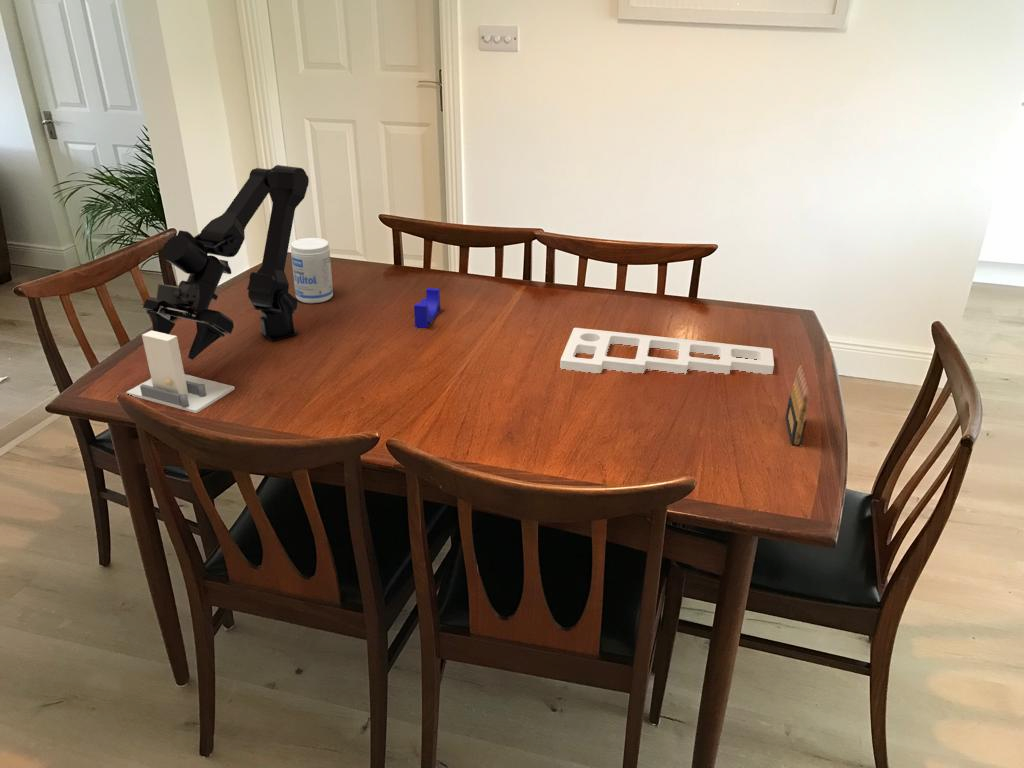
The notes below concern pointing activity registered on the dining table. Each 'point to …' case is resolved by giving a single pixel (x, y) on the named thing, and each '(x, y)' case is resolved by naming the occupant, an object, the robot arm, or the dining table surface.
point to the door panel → (165, 362)
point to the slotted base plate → (197, 399)
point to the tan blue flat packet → (797, 408)
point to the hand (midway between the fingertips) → (172, 354)
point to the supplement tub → (312, 270)
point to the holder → (601, 340)
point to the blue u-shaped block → (427, 308)
